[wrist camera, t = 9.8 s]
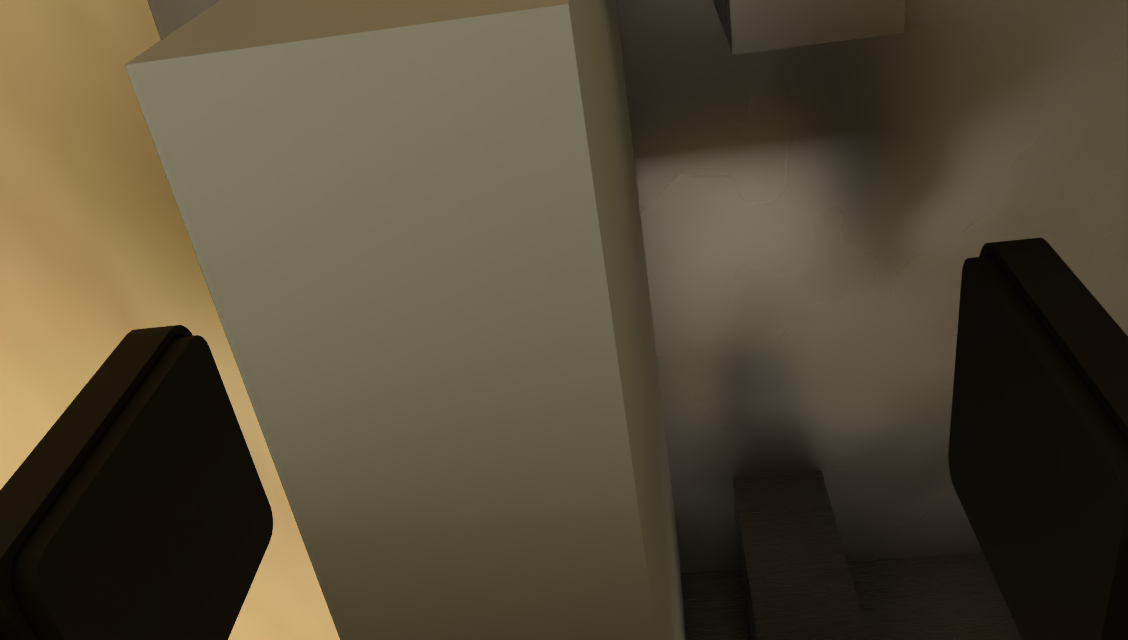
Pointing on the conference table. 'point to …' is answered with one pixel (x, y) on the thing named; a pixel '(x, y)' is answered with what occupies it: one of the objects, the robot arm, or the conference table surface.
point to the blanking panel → (435, 303)
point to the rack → (848, 278)
